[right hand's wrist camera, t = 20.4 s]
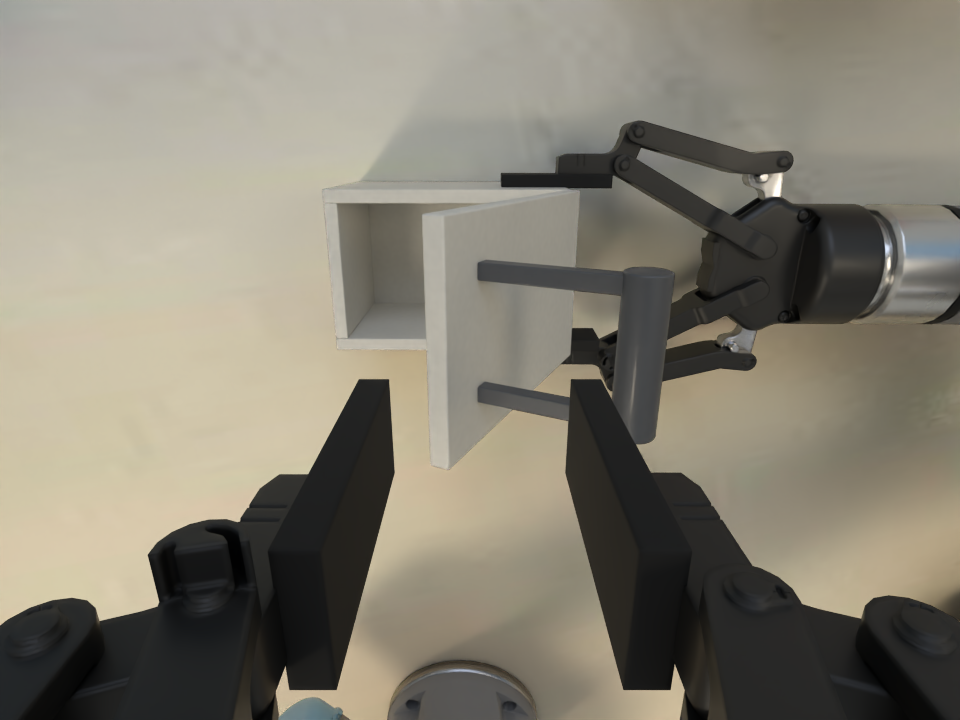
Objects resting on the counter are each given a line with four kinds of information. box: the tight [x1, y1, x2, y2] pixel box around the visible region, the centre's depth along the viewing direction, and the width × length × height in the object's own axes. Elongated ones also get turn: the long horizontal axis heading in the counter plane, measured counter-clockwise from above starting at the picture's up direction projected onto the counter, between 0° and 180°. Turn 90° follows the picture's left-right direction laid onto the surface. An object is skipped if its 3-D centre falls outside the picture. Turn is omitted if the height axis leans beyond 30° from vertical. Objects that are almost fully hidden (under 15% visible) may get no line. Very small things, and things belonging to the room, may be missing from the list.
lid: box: [422, 190, 675, 470], centre depth 25 cm, size 15×10×8 cm
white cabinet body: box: [322, 182, 570, 350], centre depth 38 cm, size 14×10×10 cm
